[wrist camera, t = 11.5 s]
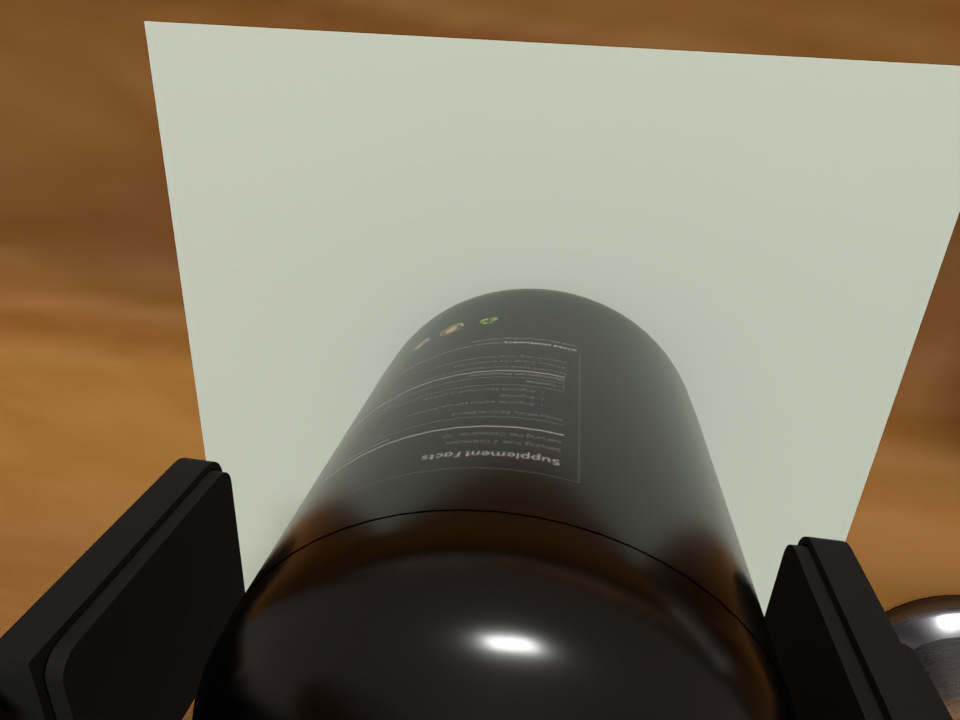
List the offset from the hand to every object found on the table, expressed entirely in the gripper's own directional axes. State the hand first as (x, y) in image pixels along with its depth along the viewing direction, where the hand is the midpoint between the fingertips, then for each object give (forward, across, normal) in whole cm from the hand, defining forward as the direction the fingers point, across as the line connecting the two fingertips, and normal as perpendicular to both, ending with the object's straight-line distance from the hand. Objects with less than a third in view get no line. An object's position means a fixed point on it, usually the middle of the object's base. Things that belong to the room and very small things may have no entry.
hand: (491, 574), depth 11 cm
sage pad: (+6, 0, 0) cm, 6 cm away
